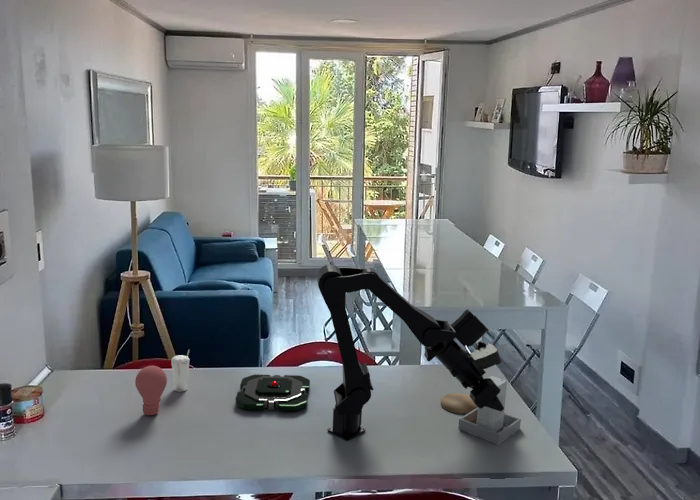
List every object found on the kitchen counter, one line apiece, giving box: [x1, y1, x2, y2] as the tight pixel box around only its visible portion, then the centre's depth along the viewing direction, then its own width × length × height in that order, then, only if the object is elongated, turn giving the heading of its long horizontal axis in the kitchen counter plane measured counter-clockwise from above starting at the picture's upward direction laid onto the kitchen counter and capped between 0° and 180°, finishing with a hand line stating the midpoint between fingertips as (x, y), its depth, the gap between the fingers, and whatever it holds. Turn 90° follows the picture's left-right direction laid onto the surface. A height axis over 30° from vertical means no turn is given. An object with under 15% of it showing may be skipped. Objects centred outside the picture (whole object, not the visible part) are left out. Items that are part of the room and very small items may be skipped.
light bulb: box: [134, 365, 168, 416], centre depth 149 cm, size 7×7×12 cm
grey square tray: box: [457, 407, 522, 446], centre depth 149 cm, size 10×10×2 cm
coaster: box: [440, 393, 477, 415], centre depth 161 cm, size 10×10×1 cm
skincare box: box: [476, 375, 508, 433], centre depth 148 cm, size 6×4×12 cm
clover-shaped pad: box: [234, 374, 311, 412], centre depth 162 cm, size 18×18×5 cm
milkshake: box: [170, 349, 191, 393], centre depth 163 cm, size 4×5×10 cm
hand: (497, 402), depth 148 cm, fingers closed on skincare box, 7 cm apart
